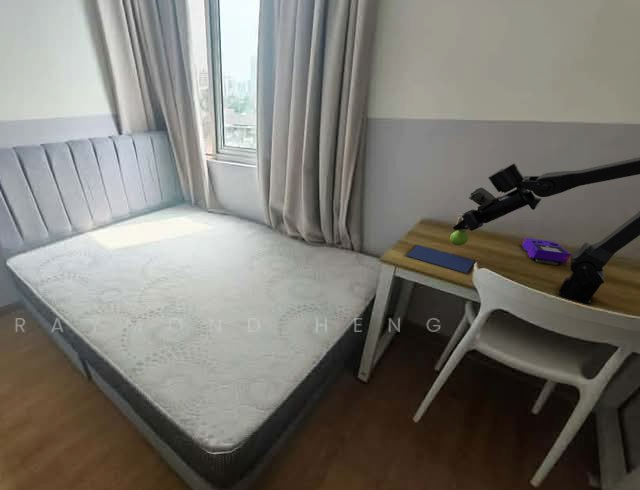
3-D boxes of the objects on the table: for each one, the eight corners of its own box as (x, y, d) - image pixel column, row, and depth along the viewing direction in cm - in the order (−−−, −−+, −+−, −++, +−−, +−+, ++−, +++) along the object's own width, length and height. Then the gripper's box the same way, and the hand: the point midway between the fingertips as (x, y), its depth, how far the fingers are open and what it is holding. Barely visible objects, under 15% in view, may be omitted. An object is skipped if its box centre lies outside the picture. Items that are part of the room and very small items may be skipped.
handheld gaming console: (555, 240, 118) (572, 252, 106) (549, 253, 120) (564, 266, 108) (525, 236, 121) (537, 248, 109) (519, 249, 124) (531, 261, 112)
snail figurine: (442, 243, 114) (453, 211, 107) (456, 240, 115) (467, 209, 109) (455, 249, 109) (467, 216, 103) (469, 246, 111) (481, 214, 104)
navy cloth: (474, 261, 113) (475, 260, 113) (466, 273, 106) (466, 272, 106) (417, 245, 125) (417, 245, 125) (406, 256, 118) (406, 255, 118)
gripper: (506, 176, 101) (459, 202, 115) (479, 186, 93) (432, 212, 107) (525, 206, 100) (474, 228, 114) (499, 219, 91) (448, 241, 105)
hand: (457, 226), depth 110 cm, fingers closed on snail figurine, 5 cm apart
